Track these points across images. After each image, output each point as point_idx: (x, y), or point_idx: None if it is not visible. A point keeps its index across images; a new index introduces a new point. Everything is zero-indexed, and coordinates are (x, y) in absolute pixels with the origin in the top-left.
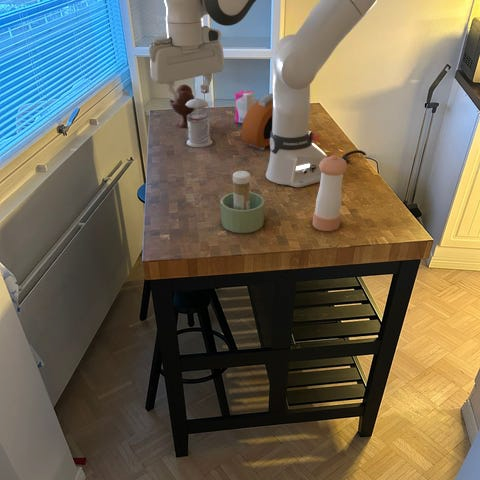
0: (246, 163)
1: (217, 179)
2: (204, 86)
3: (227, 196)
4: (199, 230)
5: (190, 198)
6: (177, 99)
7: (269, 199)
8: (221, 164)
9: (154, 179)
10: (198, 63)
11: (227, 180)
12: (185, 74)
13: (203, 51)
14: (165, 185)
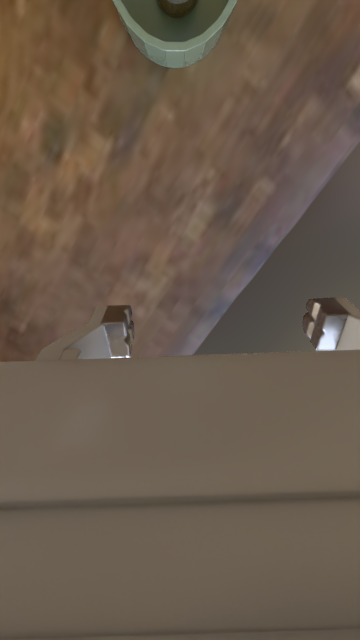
0: (10, 287)
1: (103, 260)
2: (121, 326)
3: (189, 40)
4: (287, 43)
5: (199, 218)
6: (320, 299)
7: (38, 72)
8: (63, 312)
9: (205, 329)
10: (175, 443)
11: (86, 242)
12: (339, 370)
13: (27, 626)
14: (204, 298)
